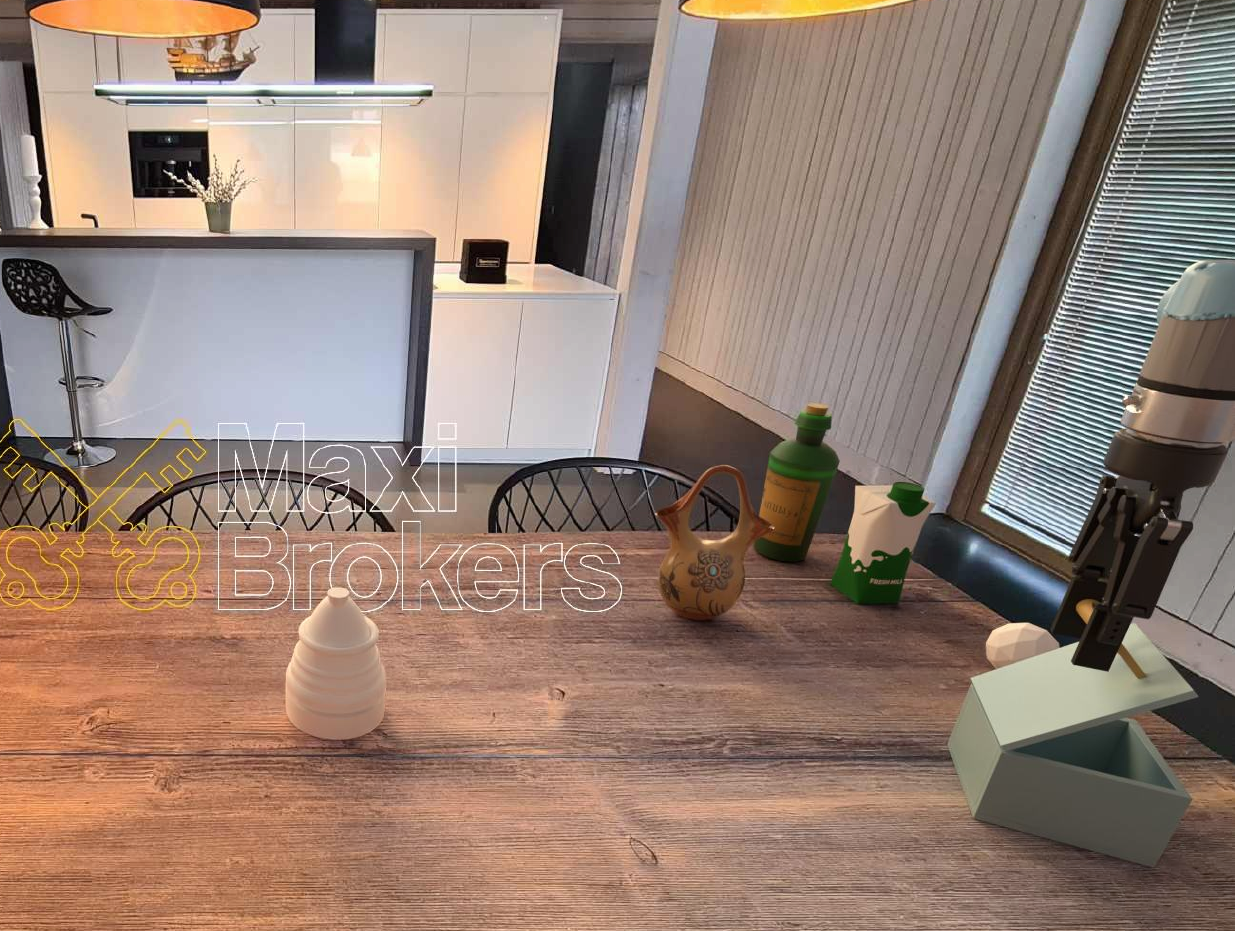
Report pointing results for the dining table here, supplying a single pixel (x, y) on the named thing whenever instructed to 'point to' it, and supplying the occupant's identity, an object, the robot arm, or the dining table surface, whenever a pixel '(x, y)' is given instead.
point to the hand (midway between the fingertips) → (1077, 649)
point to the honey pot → (336, 672)
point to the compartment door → (1077, 690)
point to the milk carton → (881, 542)
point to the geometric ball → (1017, 643)
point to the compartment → (1072, 785)
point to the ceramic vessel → (706, 555)
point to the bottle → (797, 487)
